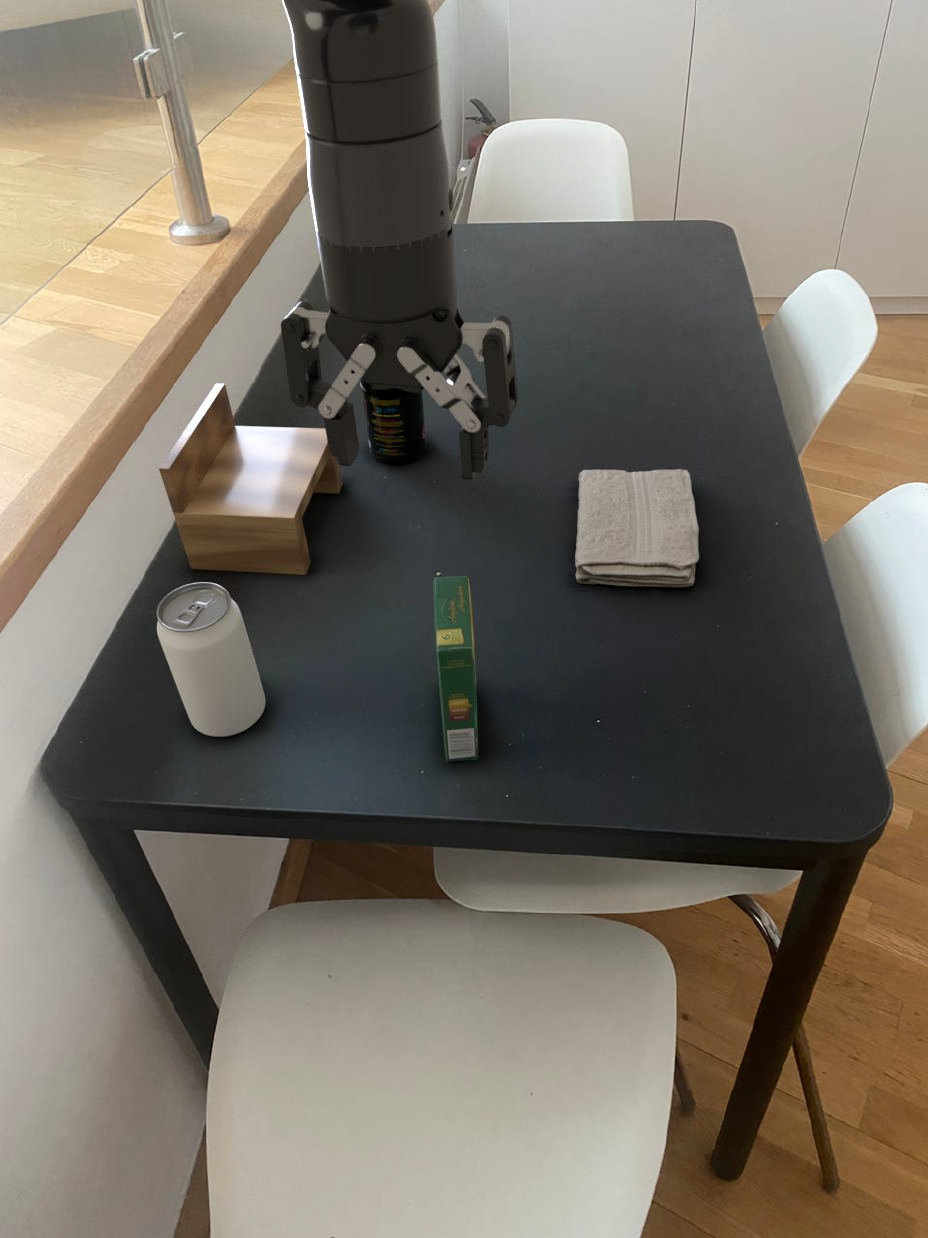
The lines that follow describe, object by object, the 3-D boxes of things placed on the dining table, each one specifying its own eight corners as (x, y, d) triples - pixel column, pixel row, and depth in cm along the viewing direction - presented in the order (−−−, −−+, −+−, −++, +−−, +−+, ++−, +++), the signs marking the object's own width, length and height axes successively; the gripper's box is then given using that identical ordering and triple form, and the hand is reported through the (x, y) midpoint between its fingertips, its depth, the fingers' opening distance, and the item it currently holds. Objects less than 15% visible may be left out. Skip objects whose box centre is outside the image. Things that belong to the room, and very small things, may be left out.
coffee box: (481, 764, 73) (474, 645, 64) (444, 766, 73) (433, 648, 64) (476, 689, 79) (470, 571, 70) (442, 691, 79) (432, 574, 70)
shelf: (306, 575, 91) (284, 473, 83) (190, 569, 93) (158, 468, 84) (343, 483, 103) (327, 385, 94) (240, 479, 104) (216, 383, 96)
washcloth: (574, 590, 87) (575, 565, 85) (575, 482, 100) (576, 458, 98) (701, 593, 86) (705, 568, 84) (685, 484, 99) (689, 460, 97)
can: (281, 695, 79) (253, 590, 71) (237, 749, 75) (202, 644, 67) (220, 674, 81) (185, 570, 73) (174, 726, 77) (132, 621, 69)
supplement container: (431, 462, 105) (424, 379, 98) (372, 470, 104) (361, 387, 97) (423, 432, 110) (416, 350, 103) (367, 439, 109) (356, 358, 102)
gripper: (234, 234, 49) (289, 486, 60) (493, 247, 46) (501, 512, 57) (289, 187, 54) (330, 427, 65) (525, 196, 51) (527, 447, 62)
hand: (410, 466), depth 61 cm, fingers open, 8 cm apart
